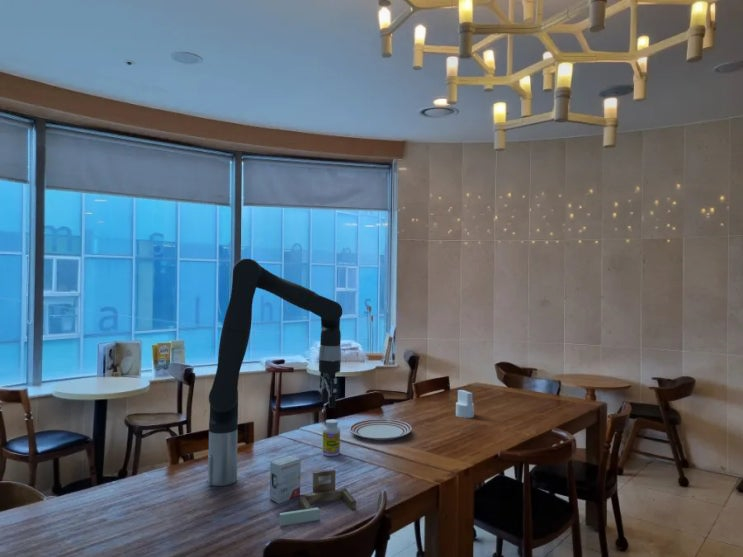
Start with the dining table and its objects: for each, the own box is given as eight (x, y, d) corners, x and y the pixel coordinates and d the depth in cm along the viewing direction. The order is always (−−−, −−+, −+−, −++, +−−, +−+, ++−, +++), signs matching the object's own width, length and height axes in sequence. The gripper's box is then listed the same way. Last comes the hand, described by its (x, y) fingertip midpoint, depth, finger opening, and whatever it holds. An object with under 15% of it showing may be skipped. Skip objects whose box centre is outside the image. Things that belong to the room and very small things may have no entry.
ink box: (291, 491, 165) (291, 454, 165) (301, 495, 162) (301, 458, 162) (268, 499, 159) (269, 461, 159) (278, 504, 155) (279, 465, 155)
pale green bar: (280, 526, 142) (280, 515, 142) (279, 524, 143) (279, 513, 143) (319, 519, 146) (319, 509, 146) (317, 517, 147) (318, 507, 147)
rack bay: (306, 516, 147) (306, 488, 147) (296, 500, 159) (297, 474, 159) (355, 509, 153) (356, 482, 153) (343, 493, 164) (343, 468, 164)
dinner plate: (387, 448, 209) (387, 440, 209) (336, 435, 225) (336, 428, 225) (423, 433, 230) (423, 425, 230) (374, 422, 247) (374, 415, 247)
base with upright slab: (452, 414, 263) (452, 390, 263) (466, 412, 266) (467, 389, 266) (462, 418, 254) (462, 394, 254) (477, 416, 258) (477, 392, 258)
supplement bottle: (324, 457, 197) (324, 423, 197) (321, 451, 203) (321, 419, 203) (341, 456, 199) (341, 422, 199) (337, 450, 205) (338, 418, 205)
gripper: (313, 355, 184) (312, 400, 184) (325, 361, 171) (324, 410, 171) (333, 355, 187) (332, 399, 187) (346, 361, 174) (345, 409, 174)
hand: (328, 404), depth 179 cm, fingers open, 8 cm apart
